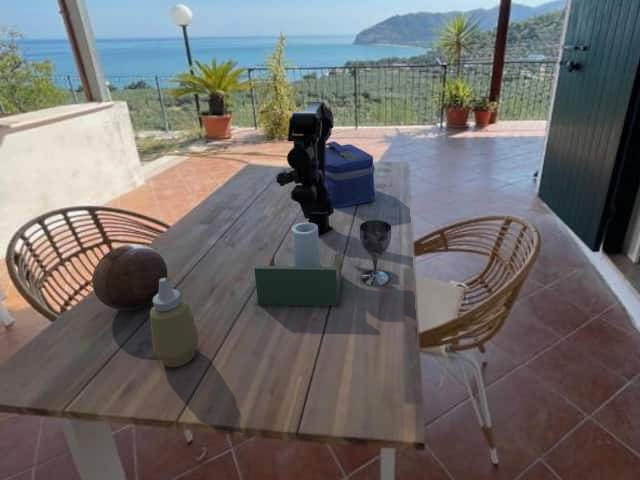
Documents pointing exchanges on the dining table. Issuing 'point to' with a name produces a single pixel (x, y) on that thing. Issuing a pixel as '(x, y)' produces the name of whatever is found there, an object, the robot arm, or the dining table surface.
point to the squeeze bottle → (172, 327)
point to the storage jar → (305, 245)
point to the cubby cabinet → (297, 284)
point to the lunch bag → (348, 175)
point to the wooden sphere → (128, 277)
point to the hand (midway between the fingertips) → (309, 211)
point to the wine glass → (375, 248)
